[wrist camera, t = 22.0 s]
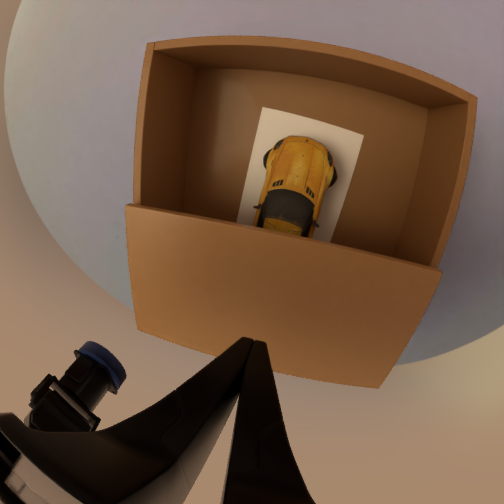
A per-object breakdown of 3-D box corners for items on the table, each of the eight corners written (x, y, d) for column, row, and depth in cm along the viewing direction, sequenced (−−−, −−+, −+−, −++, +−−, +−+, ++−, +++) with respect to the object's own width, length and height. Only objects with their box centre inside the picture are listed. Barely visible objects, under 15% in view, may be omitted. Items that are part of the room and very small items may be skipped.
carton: (368, 324, 19) (377, 380, 14) (179, 281, 21) (143, 322, 16) (432, 105, 12) (477, 97, 7) (194, 63, 14) (146, 42, 9)
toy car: (344, 148, 13) (349, 150, 11) (302, 278, 17) (299, 299, 15) (272, 127, 14) (264, 125, 12) (241, 259, 18) (230, 277, 16)
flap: (377, 384, 13) (378, 389, 13) (140, 326, 16) (137, 329, 15) (440, 268, 10) (443, 273, 10) (129, 203, 12) (124, 205, 12)
